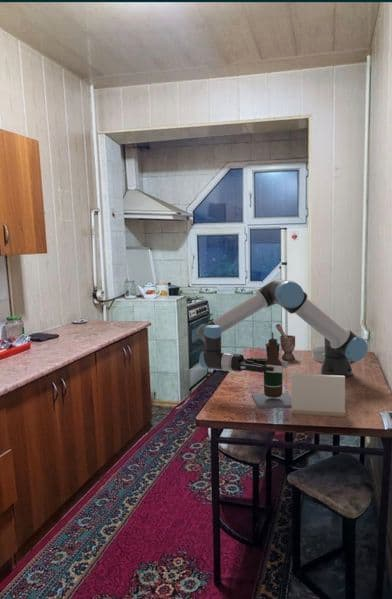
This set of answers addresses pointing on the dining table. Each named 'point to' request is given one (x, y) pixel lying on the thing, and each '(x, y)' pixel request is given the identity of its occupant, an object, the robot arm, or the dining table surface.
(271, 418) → the dining table surface
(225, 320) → the robot arm
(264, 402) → the mat
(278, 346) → the drinking cup
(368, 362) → the dining table surface
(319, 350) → the dish
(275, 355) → the beer bottle
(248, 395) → the dining table surface
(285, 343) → the mortar and pestle
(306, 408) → the screen
